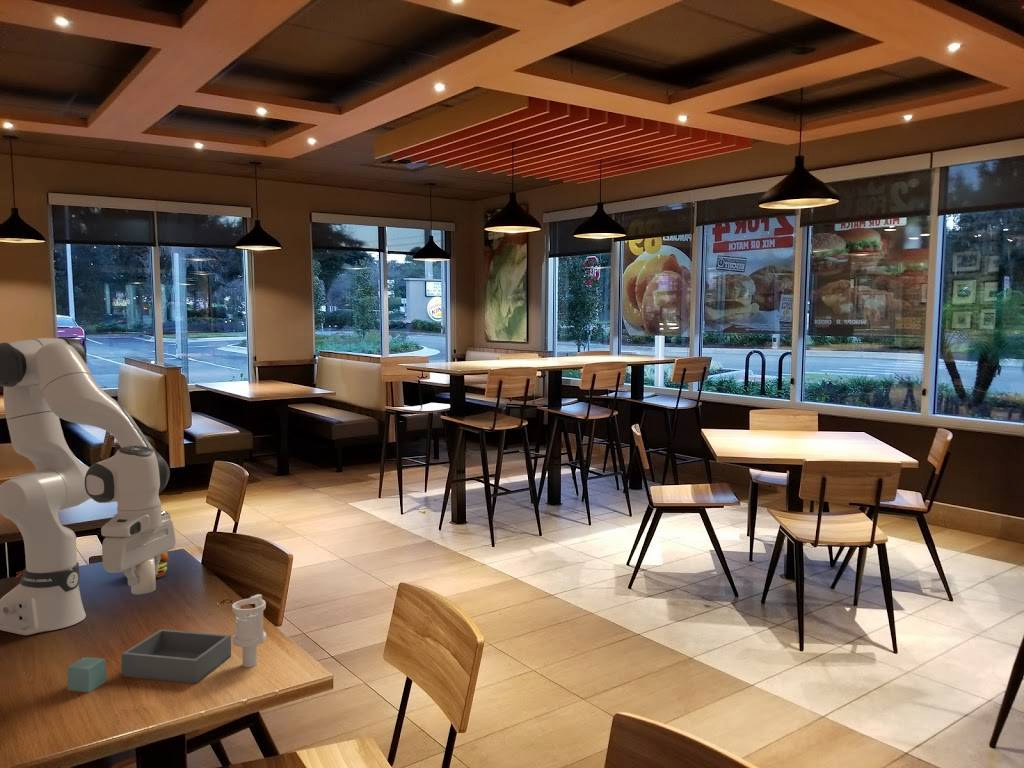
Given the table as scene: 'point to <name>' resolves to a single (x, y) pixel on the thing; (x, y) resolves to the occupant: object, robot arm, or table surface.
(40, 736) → the table surface
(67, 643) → the table surface
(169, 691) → the table surface
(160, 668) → the tote
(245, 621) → the grey slotted cylindrical housing
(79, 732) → the table surface
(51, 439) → the robot arm
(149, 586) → the cream capsule
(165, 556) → the cheeseburger
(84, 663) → the teal cube
